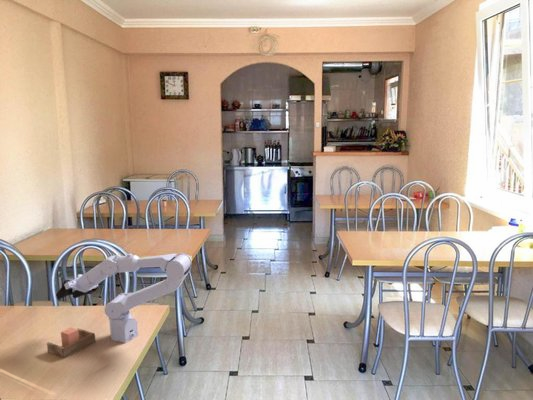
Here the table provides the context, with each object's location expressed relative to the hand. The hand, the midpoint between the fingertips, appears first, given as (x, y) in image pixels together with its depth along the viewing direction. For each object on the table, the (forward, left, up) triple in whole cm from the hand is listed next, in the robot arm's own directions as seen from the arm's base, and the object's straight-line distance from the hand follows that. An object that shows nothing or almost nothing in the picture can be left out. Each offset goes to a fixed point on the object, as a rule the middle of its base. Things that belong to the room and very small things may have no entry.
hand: (65, 296), depth 166 cm
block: (-9, +6, -15) cm, 19 cm away
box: (-10, +6, -15) cm, 19 cm away
